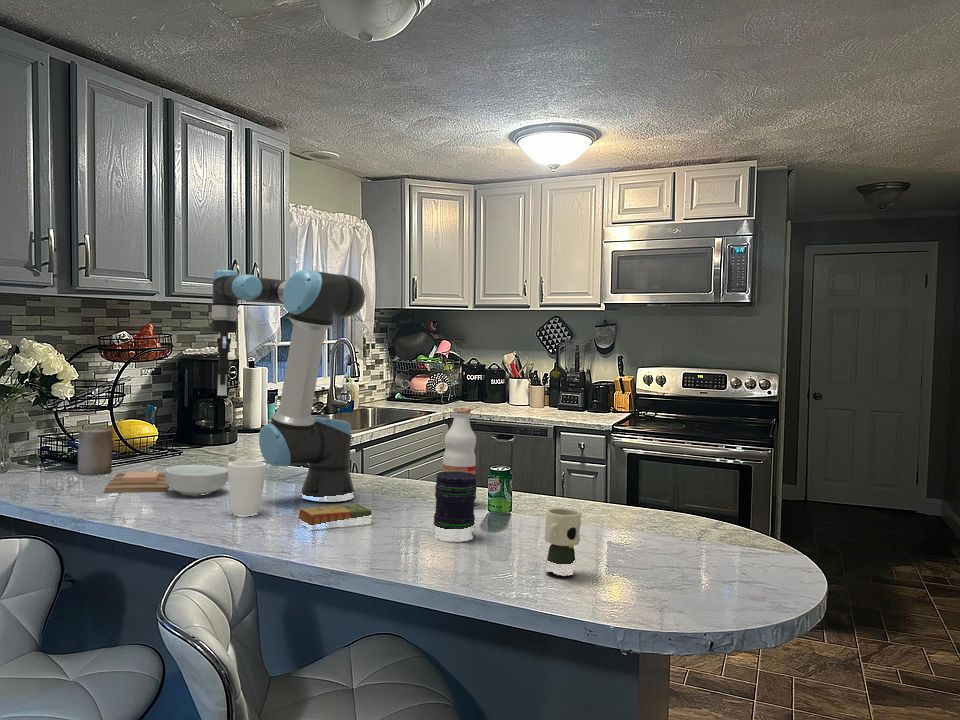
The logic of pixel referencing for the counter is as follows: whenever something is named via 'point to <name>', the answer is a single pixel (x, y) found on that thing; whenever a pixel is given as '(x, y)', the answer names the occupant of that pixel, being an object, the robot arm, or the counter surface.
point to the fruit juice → (460, 444)
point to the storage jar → (455, 500)
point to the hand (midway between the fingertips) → (221, 395)
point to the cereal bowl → (196, 478)
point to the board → (136, 485)
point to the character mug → (562, 534)
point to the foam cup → (246, 486)
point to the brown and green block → (332, 513)
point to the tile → (140, 477)
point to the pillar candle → (95, 451)
